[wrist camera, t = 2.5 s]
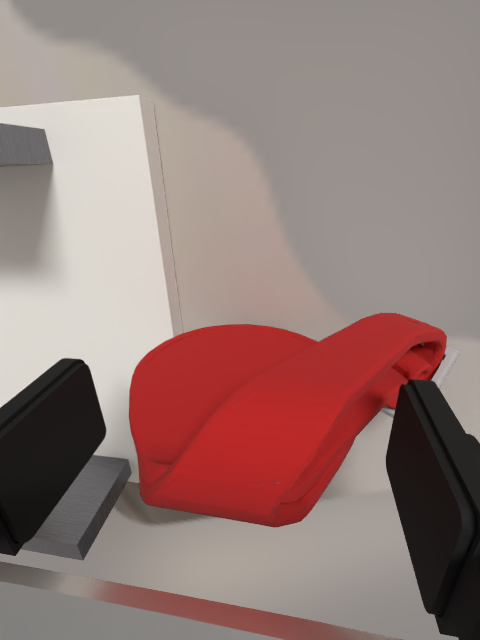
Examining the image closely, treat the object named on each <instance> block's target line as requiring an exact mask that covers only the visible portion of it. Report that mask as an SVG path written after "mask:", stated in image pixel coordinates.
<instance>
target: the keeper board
mask: <svg viewBox="0 0 480 640" xmlns="http://www.w3.org/2000/svg"><path fill="white" fill-rule="evenodd" d="M180 334H183V330H182V322H181V314H180V306H179V299H178V291H177V283H176V276H175V268H174V260H173V252H172V245H171V237H170V229H169V221H168V214H167V206H166V198H165V190H164V183H163V175H162V167H161V159H160V152H159V144H158V136H157V129H156V121H155V113H154V105H153V101H152V100H149V99H147V98H145V97H142V96H140V95H134V96H123V97H112V98H101V99H90V100H79V101H68V102H57V103H46V104H35V105H24V106H13V107H2V108H0V408H1V407H2V406H3V405H4V404H6V403H7V402H8V401H9V400H11V399H12V398H13V397H14V396H16V395H17V394H18V393H19V392H21V391H22V390H23V389H24V388H26V387H27V386H28V385H29V384H31V383H32V382H33V381H34V380H36V379H37V378H38V377H39V376H40V375H42V374H43V373H44V372H45V371H47V370H48V369H49V368H50V367H52V366H53V365H54V364H55V363H57V362H58V361H59V360H61V359H63V358H72V359H82V360H83V361H84V362H85V364H87V365H88V366H89V368H90V371H91V375H92V378H93V382H94V386H95V389H96V393H97V396H98V400H99V404H100V407H101V411H102V415H103V418H104V422H105V425H106V436H105V438H104V440H103V442H102V443H101V444H100V446H99V447H98V449H97V450H96V451H95V453H94V454H93V455H92V457H91V458H90V460H89V461H88V462H87V464H86V465H85V466H84V468H83V469H82V471H81V472H80V473H79V475H78V476H77V477H76V479H75V480H74V482H73V483H72V484H71V486H70V487H69V489H68V490H67V491H66V493H65V494H64V495H63V497H62V498H61V500H60V501H59V502H58V504H57V505H56V506H55V508H54V509H53V511H52V512H51V513H50V515H49V516H48V517H47V519H46V520H45V522H44V523H43V524H42V526H41V527H40V529H39V530H38V531H37V533H36V534H35V535H34V537H33V538H32V539H31V540H30V541H28V542H26V543H25V544H24V545H23V546H22V548H21V549H23V550H29V551H34V552H40V553H45V554H50V555H56V556H61V557H67V558H72V559H78V560H84V558H85V556H86V554H87V553H88V551H89V549H90V547H91V545H92V544H93V542H94V540H95V538H96V537H97V535H98V533H99V531H100V529H101V528H102V526H103V524H104V522H105V520H106V519H107V517H108V515H109V513H110V512H111V510H112V508H113V506H114V504H115V503H116V501H117V499H118V497H119V495H120V494H121V492H122V490H123V488H124V486H125V485H126V483H127V482H135V483H139V470H138V459H137V453H136V449H135V445H134V440H133V438H132V435H131V430H130V423H129V390H130V385H131V379H132V375H133V373H134V370H135V368H136V366H137V365H138V363H139V362H140V360H141V359H142V358H143V357H144V356H145V355H146V354H147V353H148V352H149V351H151V350H152V349H154V348H155V347H157V346H158V345H160V344H161V343H163V342H164V341H166V340H169V339H171V338H173V337H175V336H178V335H180Z"/></svg>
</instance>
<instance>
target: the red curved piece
mask: <svg viewBox="0 0 480 640" xmlns="http://www.w3.org/2000/svg"><path fill="white" fill-rule="evenodd" d="M446 338H447V336H446V335H445V333H444V332H443V331H442V330H441V329H439V328H436V327H433V326H431V325H429V324H427V323H423V322H420V321H418V320H415V319H412V318H409V317H406V316H403V315H400V314H396V313H379V314H375V315H372V316H369V317H366V318H363V319H361V320H359V321H357V322H355V323H353V324H352V325H350V326H348V327H346V328H344V329H342V330H340V331H339V332H337V333H335V334H333V335H331V336H329V337H327V338H325V339H323V340H321V341H320V342H317V341H315V340H313V339H310V338H308V337H305V336H303V335H300V334H297V333H294V332H291V331H287V330H284V329H279V328H274V327H269V326H259V325H249V324H241V325H221V326H212V327H205V328H201V329H197V330H193V331H190V332H186V333H183V334H180V335H178V336H175V337H173V338H171V339H169V340H166V341H164V342H163V343H161V344H160V345H158V346H157V347H155V348H154V349H152V350H151V351H149V352H148V353H147V354H146V355H145V356H144V357H143V358H142V359H141V360H140V362H139V363H138V365H137V366H136V368H135V370H134V373H133V375H132V379H131V385H130V390H129V423H130V430H131V435H132V438H133V440H134V445H135V449H136V453H137V459H138V470H139V484H140V495H141V497H142V499H143V501H144V502H145V503H146V504H147V505H150V506H156V507H162V508H168V509H173V510H179V511H185V512H191V513H197V514H202V515H208V516H214V517H220V518H225V519H232V520H237V521H243V522H248V523H254V524H260V525H265V526H270V527H280V526H284V525H289V524H293V523H297V522H300V521H302V519H303V518H304V517H306V516H307V514H308V513H309V512H310V511H311V510H312V508H313V507H314V506H315V504H316V503H317V501H318V500H319V498H320V497H321V495H322V494H323V492H324V491H325V489H326V487H327V486H328V484H329V483H330V481H331V480H332V478H333V477H334V475H335V474H336V472H337V471H338V469H339V468H340V466H341V464H342V462H343V461H344V459H345V457H346V455H347V454H348V452H349V450H350V448H351V447H352V444H353V442H354V440H355V437H356V436H357V435H358V434H359V433H360V432H361V431H362V430H363V429H364V428H365V426H366V425H367V424H368V423H369V422H370V421H371V420H372V419H373V418H374V417H375V416H376V414H377V413H378V412H379V411H382V412H384V413H385V414H387V415H389V416H391V417H393V418H394V414H395V408H396V403H397V398H398V393H399V388H400V386H401V384H407V382H408V381H409V380H410V379H415V380H431V381H434V382H435V383H436V385H437V386H438V388H440V386H441V385H442V383H443V381H444V379H445V378H446V376H447V374H448V373H449V371H450V369H451V368H452V366H453V364H454V363H455V361H456V359H457V358H458V356H459V353H458V351H457V350H455V349H453V348H450V347H448V346H446ZM442 359H443V362H442V364H441V361H442ZM440 364H441V365H440ZM439 366H440V367H439Z"/></svg>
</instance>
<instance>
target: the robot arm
mask: <svg viewBox="0 0 480 640" xmlns="http://www.w3.org/2000/svg"><path fill="white" fill-rule="evenodd" d="M105 436H106V425H105V422H104V418H103V415H102V411H101V407H100V404H99V400H98V396H97V393H96V389H95V386H94V382H93V378H92V375H91V371H90V368H89V366H88V365H87V364H85V362H84V361H83V360H82V359H72V358H63V359H61V360H59V361H58V362H57V363H55V364H54V365H53V366H52V367H50V368H49V369H48V370H47V371H45V372H44V373H43V374H42V375H40V376H39V377H38V378H37V379H36V380H34V381H33V382H32V383H31V384H29V385H28V386H27V387H26V388H24V389H23V390H22V391H21V392H19V393H18V394H17V395H16V396H14V397H13V398H12V399H11V400H9V401H8V402H7V403H6V404H4V405H3V406H2V407H1V408H0V553H2V554H7V555H13V556H16V554H17V553H18V552H19V550H20V549H21V548H22V546H23V545H24V544H25V543H26V542H28V541H30V540H31V539H32V538H33V537H34V535H35V534H36V533H37V531H38V530H39V529H40V527H41V526H42V524H43V523H44V522H45V520H46V519H47V517H48V516H49V515H50V513H51V512H52V511H53V509H54V508H55V506H56V505H57V504H58V502H59V501H60V500H61V498H62V497H63V495H64V494H65V493H66V491H67V490H68V489H69V487H70V486H71V484H72V483H73V482H74V480H75V479H76V477H77V476H78V475H79V473H80V472H81V471H82V469H83V468H84V466H85V465H86V464H87V462H88V461H89V460H90V458H91V457H92V455H93V454H94V453H95V451H96V450H97V449H98V447H99V446H100V444H101V443H102V442H103V440H104V438H105ZM386 468H387V473H388V476H389V480H390V484H391V487H392V491H393V495H394V498H395V502H396V506H397V509H398V513H399V517H400V520H401V524H402V527H403V531H404V535H405V539H406V542H407V546H408V549H409V553H410V557H411V561H412V564H413V568H414V571H415V575H416V579H417V583H418V586H419V590H420V594H421V597H422V601H423V604H424V607H425V609H426V611H427V612H428V613H429V614H434V615H435V618H436V622H437V625H438V628H439V632H440V634H444V635H449V636H455V637H458V638H459V640H480V443H479V442H478V441H477V439H476V438H475V437H474V436H472V435H470V434H466V433H465V431H464V429H463V428H462V426H461V424H460V423H459V421H458V419H457V418H456V416H455V415H454V413H453V411H452V410H451V408H450V406H449V405H448V403H447V401H446V400H445V398H444V396H443V395H442V393H441V391H440V390H439V388H438V386H437V385H436V383H435V382H434V381H431V380H415V379H410V380H409V381H408V382H407V384H401V386H400V388H399V393H398V398H397V403H396V408H395V414H394V419H393V424H392V429H391V434H390V439H389V444H388V449H387V454H386ZM0 640H401V639H396V638H391V637H387V636H382V635H377V634H373V633H368V632H364V631H359V630H354V629H350V628H345V627H340V626H335V625H331V624H326V623H322V622H317V621H312V620H306V619H301V618H296V617H291V616H286V615H281V614H276V613H271V612H265V611H260V610H255V609H250V608H245V607H240V606H234V605H229V604H224V603H219V602H214V601H208V600H204V599H198V598H193V597H188V596H183V595H178V594H172V593H167V592H162V591H156V590H151V589H145V588H141V587H135V586H130V585H124V584H119V583H114V582H108V581H103V580H98V579H92V578H87V577H81V576H76V575H71V574H66V573H61V572H54V571H50V570H44V569H39V568H32V567H28V566H22V565H17V564H11V563H6V562H0Z"/></svg>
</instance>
